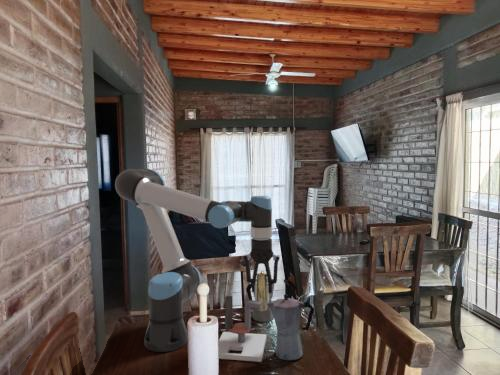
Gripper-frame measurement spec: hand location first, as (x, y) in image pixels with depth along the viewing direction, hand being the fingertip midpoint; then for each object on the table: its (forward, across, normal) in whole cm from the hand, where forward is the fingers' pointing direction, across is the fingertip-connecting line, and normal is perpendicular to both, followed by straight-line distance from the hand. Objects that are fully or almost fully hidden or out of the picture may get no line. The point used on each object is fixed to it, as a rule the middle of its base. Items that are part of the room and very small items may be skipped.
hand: (262, 301), depth 131 cm
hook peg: (+3, 0, 0) cm, 3 cm away
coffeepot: (+13, +2, -15) cm, 20 cm away
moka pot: (+13, -11, +12) cm, 21 cm away
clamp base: (+13, +6, +10) cm, 18 cm away
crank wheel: (+11, +6, +9) cm, 15 cm away
